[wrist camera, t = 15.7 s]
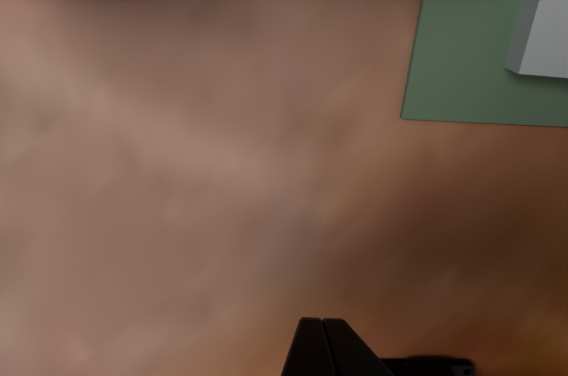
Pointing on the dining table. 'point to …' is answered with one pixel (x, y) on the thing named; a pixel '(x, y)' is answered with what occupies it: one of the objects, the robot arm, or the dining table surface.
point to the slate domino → (540, 39)
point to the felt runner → (475, 69)
